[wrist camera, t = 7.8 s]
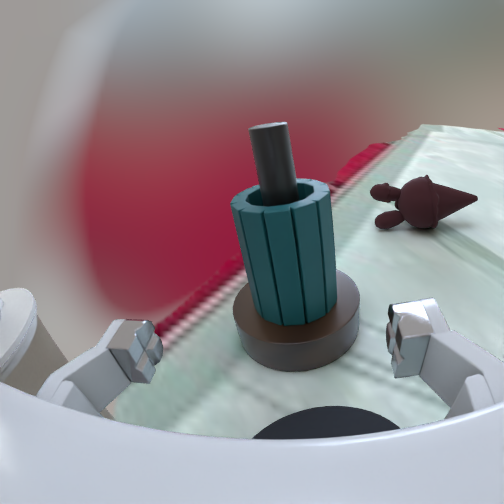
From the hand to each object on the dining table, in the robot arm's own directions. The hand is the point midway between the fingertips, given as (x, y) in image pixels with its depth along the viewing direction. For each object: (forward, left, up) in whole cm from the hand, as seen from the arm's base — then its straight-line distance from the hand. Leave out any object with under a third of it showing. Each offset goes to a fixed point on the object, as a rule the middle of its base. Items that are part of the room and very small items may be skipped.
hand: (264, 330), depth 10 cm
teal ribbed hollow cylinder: (0, +12, -8) cm, 14 cm away
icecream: (+17, +28, -11) cm, 34 cm away
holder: (0, +12, -11) cm, 16 cm away
